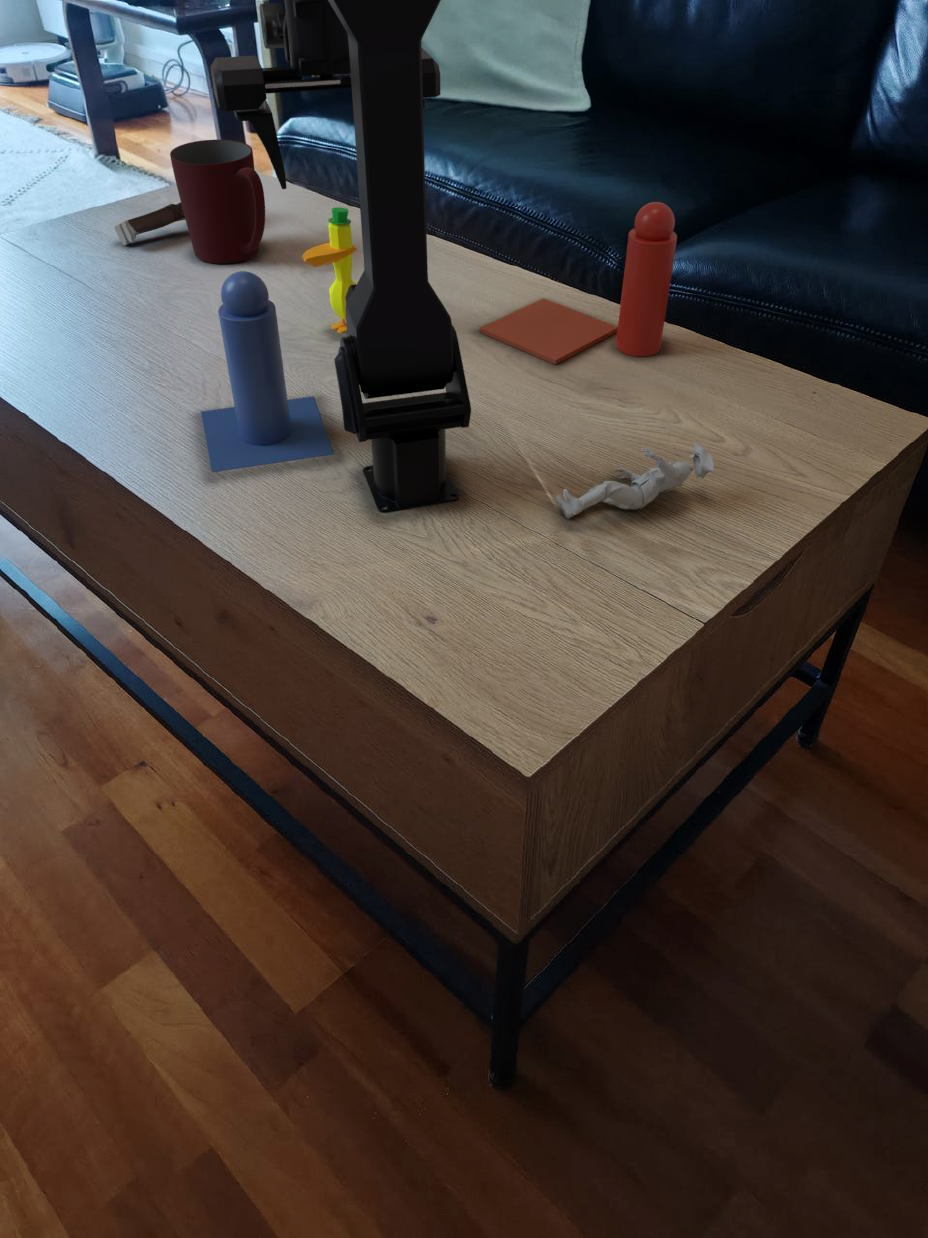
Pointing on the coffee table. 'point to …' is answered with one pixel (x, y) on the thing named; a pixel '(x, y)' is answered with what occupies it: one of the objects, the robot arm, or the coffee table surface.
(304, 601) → the coffee table surface
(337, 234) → the toy figure
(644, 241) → the red skittle
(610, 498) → the soldier figure
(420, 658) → the coffee table surface
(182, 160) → the mug
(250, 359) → the blue skittle
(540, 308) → the red mat
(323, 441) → the blue mat
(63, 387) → the coffee table surface
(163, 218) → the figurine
